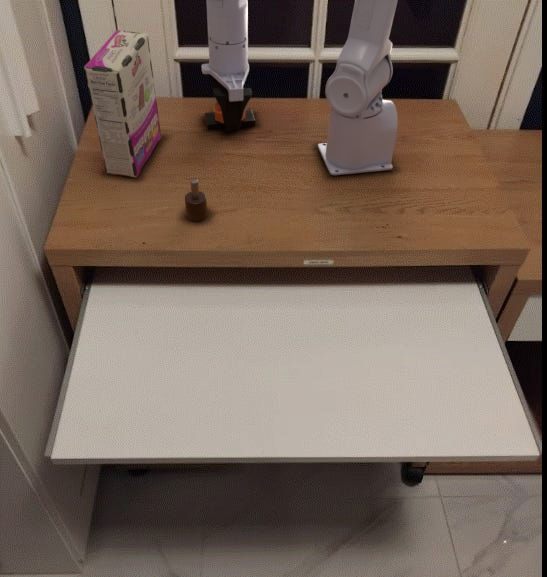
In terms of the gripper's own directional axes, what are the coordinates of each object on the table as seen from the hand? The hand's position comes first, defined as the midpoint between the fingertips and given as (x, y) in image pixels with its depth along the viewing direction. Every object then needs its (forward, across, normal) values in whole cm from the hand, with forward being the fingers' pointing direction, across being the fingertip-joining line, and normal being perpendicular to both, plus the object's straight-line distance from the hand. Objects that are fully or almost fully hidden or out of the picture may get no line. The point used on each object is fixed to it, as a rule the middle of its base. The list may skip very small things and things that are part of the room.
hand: (229, 120), depth 102 cm
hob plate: (0, 0, 0) cm, 0 cm away
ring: (-1, 0, 0) cm, 1 cm away
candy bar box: (0, +7, -16) cm, 17 cm away
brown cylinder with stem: (0, +23, -8) cm, 24 cm away
